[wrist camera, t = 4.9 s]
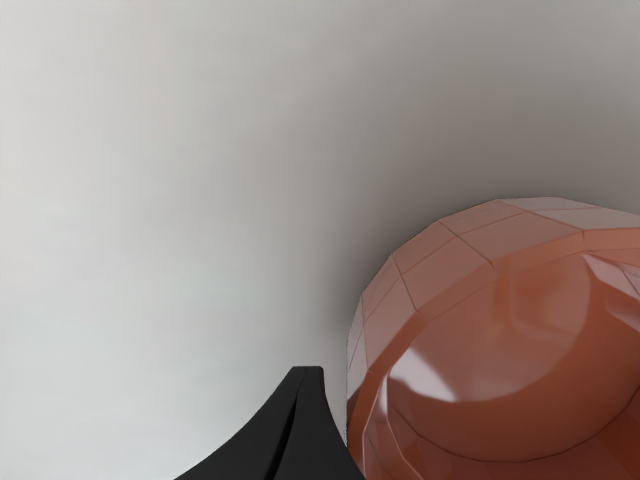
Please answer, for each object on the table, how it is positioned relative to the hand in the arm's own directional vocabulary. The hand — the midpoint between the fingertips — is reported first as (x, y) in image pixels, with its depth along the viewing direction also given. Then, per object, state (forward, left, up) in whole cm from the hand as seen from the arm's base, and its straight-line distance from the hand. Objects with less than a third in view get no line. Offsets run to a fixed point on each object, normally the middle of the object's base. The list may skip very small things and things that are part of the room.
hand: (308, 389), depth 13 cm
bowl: (0, -8, -2) cm, 8 cm away
